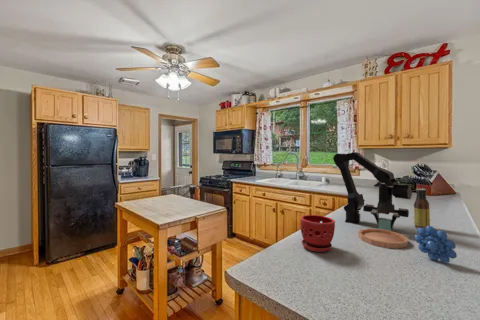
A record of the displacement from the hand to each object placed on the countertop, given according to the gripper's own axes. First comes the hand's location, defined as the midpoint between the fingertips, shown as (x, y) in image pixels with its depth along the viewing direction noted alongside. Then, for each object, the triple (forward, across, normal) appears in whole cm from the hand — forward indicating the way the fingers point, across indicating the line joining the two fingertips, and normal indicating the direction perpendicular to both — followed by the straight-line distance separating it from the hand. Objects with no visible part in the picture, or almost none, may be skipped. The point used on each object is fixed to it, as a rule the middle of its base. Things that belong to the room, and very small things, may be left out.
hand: (385, 227), depth 113 cm
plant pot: (+1, -18, -43) cm, 47 cm away
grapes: (+1, +18, -29) cm, 34 cm away
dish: (+1, +1, -17) cm, 17 cm away
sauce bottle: (+1, +14, +14) cm, 20 cm away
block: (+1, 0, 0) cm, 1 cm away
